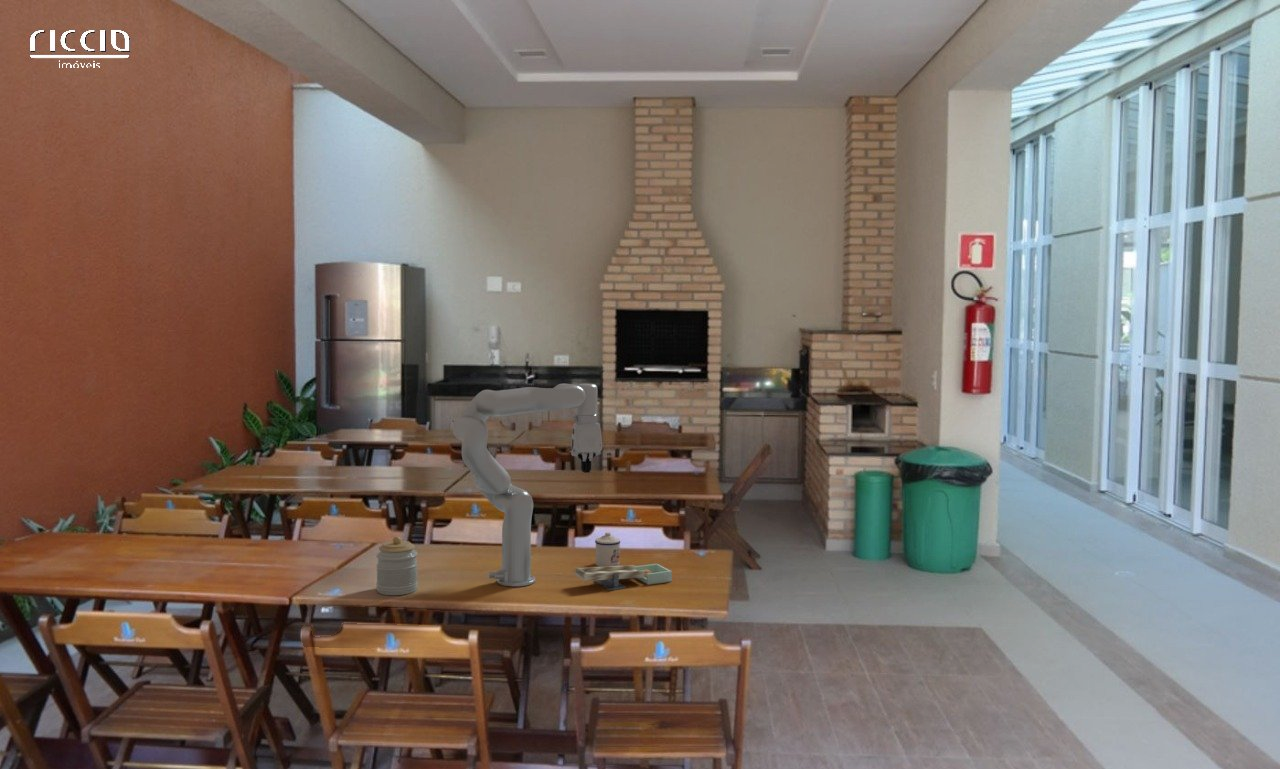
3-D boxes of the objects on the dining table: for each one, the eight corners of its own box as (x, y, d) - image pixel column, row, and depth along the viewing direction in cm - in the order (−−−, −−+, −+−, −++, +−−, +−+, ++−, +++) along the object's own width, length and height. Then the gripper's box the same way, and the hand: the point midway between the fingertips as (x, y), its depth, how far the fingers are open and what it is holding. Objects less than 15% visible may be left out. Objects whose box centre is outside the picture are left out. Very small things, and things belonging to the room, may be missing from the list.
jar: (407, 597, 297) (407, 542, 295) (369, 594, 299) (368, 540, 298) (424, 585, 309) (424, 532, 308) (387, 583, 312) (386, 530, 310)
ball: (647, 569, 318) (654, 573, 319) (642, 566, 320) (649, 570, 322) (642, 577, 317) (650, 581, 318) (638, 575, 320) (645, 579, 321)
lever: (584, 580, 304) (584, 572, 304) (568, 570, 316) (569, 563, 316) (644, 577, 315) (645, 569, 314) (627, 567, 326) (627, 560, 326)
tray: (647, 584, 314) (647, 574, 314) (633, 576, 323) (633, 566, 323) (671, 581, 318) (671, 571, 318) (657, 573, 327) (657, 563, 327)
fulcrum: (609, 590, 307) (609, 576, 306) (594, 581, 317) (594, 567, 317) (625, 588, 309) (625, 574, 309) (610, 578, 320) (610, 565, 320)
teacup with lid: (614, 569, 332) (615, 536, 332) (591, 566, 335) (591, 534, 335) (626, 560, 344) (626, 529, 343) (603, 558, 347) (603, 527, 346)
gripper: (570, 421, 318) (570, 475, 319) (610, 419, 325) (610, 472, 326) (562, 419, 325) (561, 471, 326) (601, 417, 332) (601, 469, 333)
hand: (585, 472), depth 326 cm, fingers closed
